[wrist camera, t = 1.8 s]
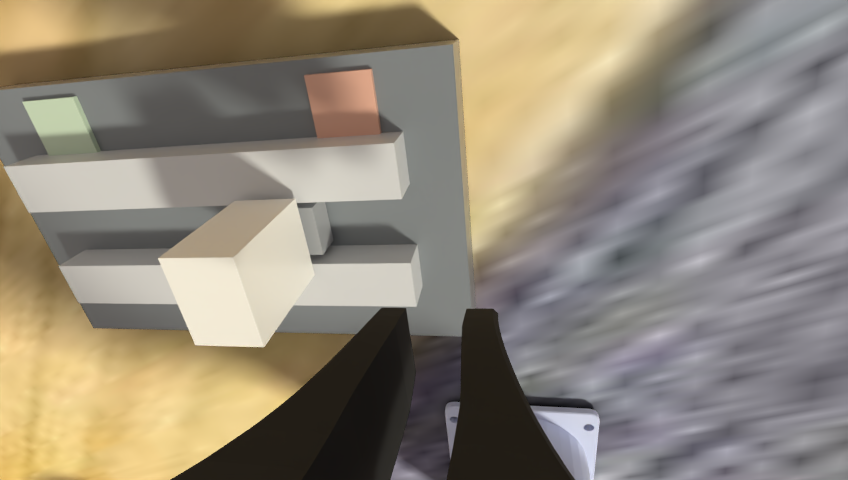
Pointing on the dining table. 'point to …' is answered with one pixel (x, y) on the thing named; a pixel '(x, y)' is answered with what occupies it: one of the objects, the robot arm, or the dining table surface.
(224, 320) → the lever
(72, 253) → the panel
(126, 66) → the dining table surface
